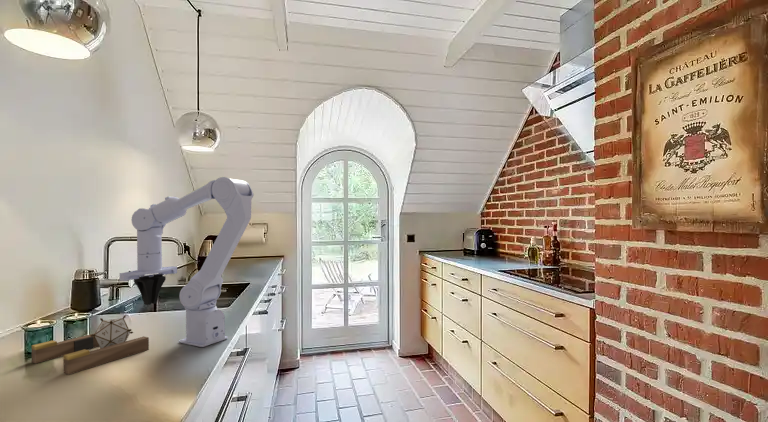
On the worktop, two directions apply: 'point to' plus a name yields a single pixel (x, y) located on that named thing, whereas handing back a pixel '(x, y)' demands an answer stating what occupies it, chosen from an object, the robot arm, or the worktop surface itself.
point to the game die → (111, 332)
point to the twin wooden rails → (86, 352)
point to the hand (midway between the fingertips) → (150, 303)
